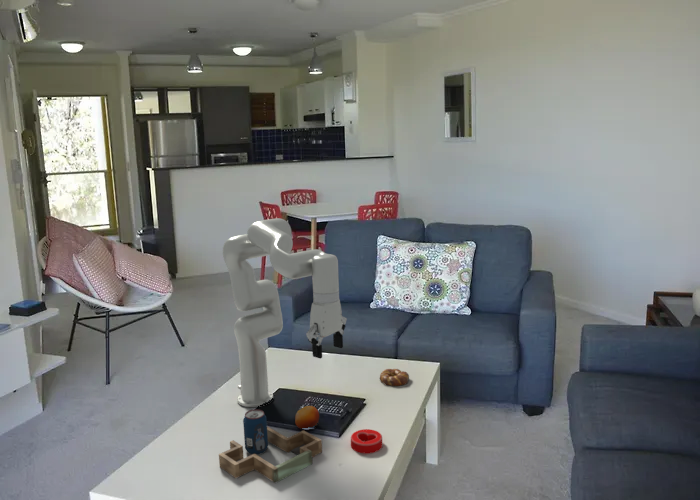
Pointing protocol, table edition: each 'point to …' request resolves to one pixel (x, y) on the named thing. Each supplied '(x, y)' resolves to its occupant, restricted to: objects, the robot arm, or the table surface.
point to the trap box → (298, 444)
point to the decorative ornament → (366, 441)
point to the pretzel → (394, 377)
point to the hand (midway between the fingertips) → (328, 352)
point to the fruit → (307, 417)
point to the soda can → (255, 432)
